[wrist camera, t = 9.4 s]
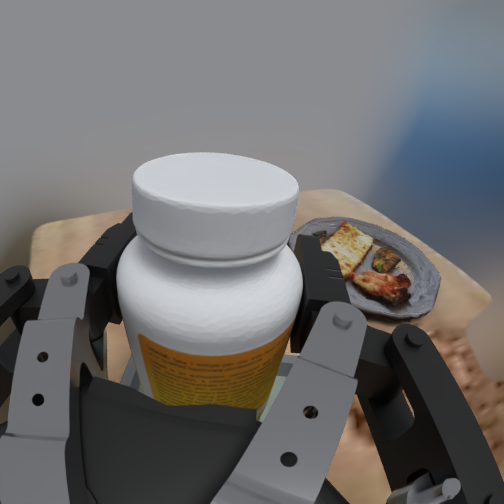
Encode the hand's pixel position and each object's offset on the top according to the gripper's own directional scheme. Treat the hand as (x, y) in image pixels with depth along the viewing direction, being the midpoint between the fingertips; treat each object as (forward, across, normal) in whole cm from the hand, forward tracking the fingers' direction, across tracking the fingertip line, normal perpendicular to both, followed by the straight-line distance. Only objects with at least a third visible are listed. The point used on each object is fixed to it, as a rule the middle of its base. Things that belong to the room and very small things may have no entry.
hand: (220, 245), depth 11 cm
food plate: (+26, -19, +17) cm, 36 cm away
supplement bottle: (-3, 0, +6) cm, 7 cm away
